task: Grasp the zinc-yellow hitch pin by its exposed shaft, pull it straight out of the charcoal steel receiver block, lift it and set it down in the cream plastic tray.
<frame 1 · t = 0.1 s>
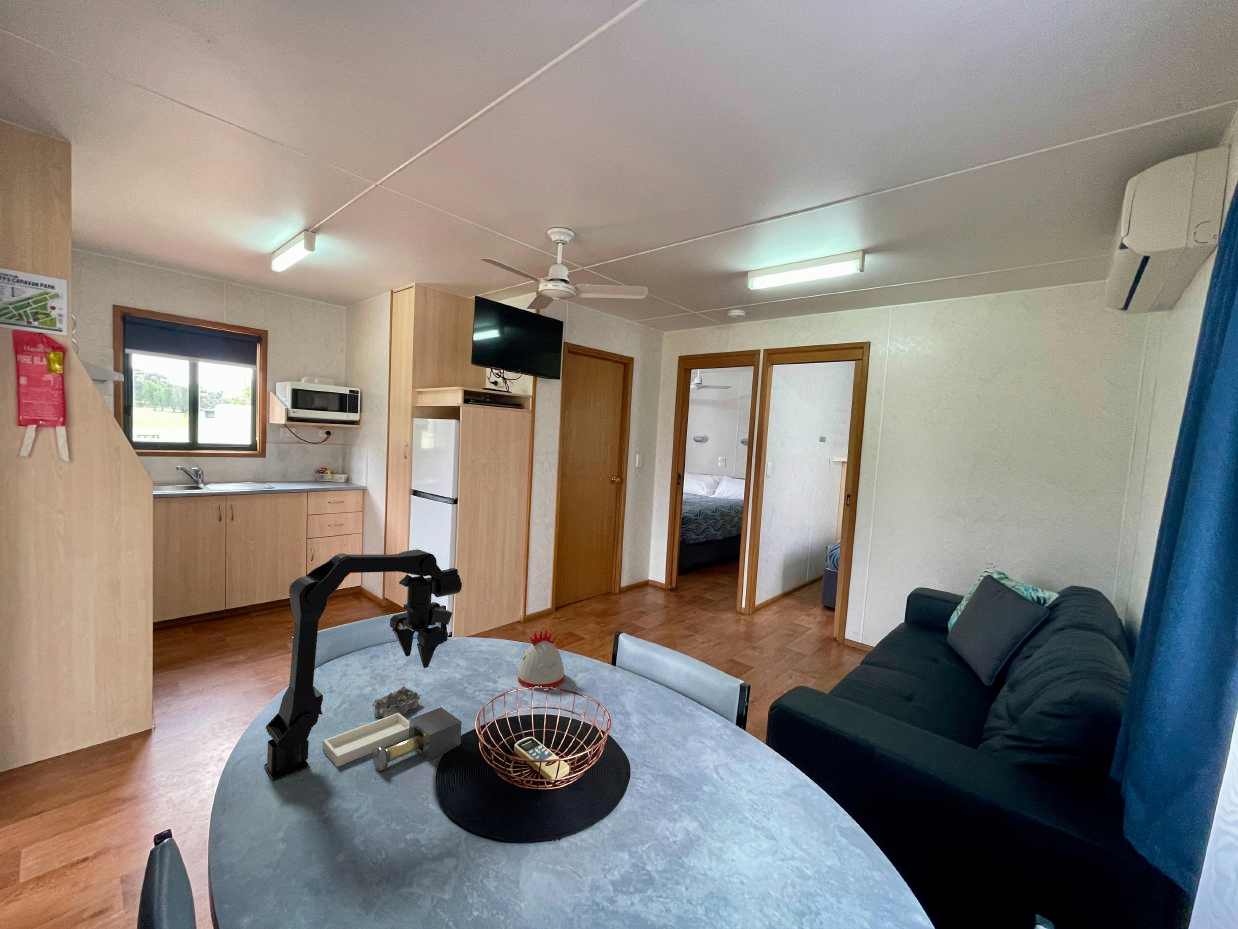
hand: (416, 661, 128), 15 cm above the table, fingers open, 9 cm apart
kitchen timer: (541, 679, 154), on the table
tray: (369, 742, 117), on the table
receiver block: (434, 744, 117), on the table
egg carton: (396, 711, 132), on the table
pin: (382, 767, 108), on the table, touching receiver block
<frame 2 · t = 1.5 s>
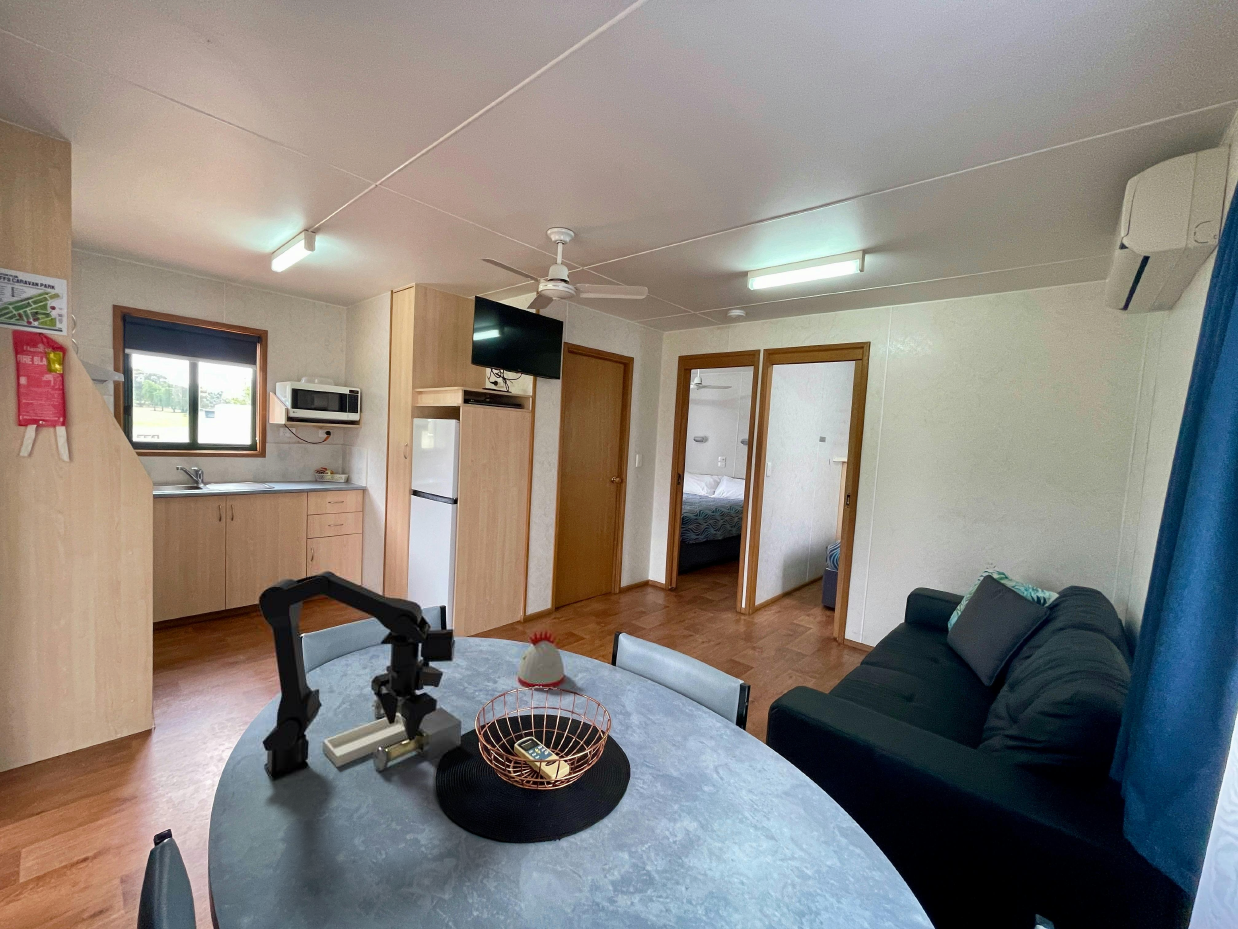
hand: (401, 731, 111), 6 cm above the table, fingers open, 9 cm apart
nothing on the table moved.
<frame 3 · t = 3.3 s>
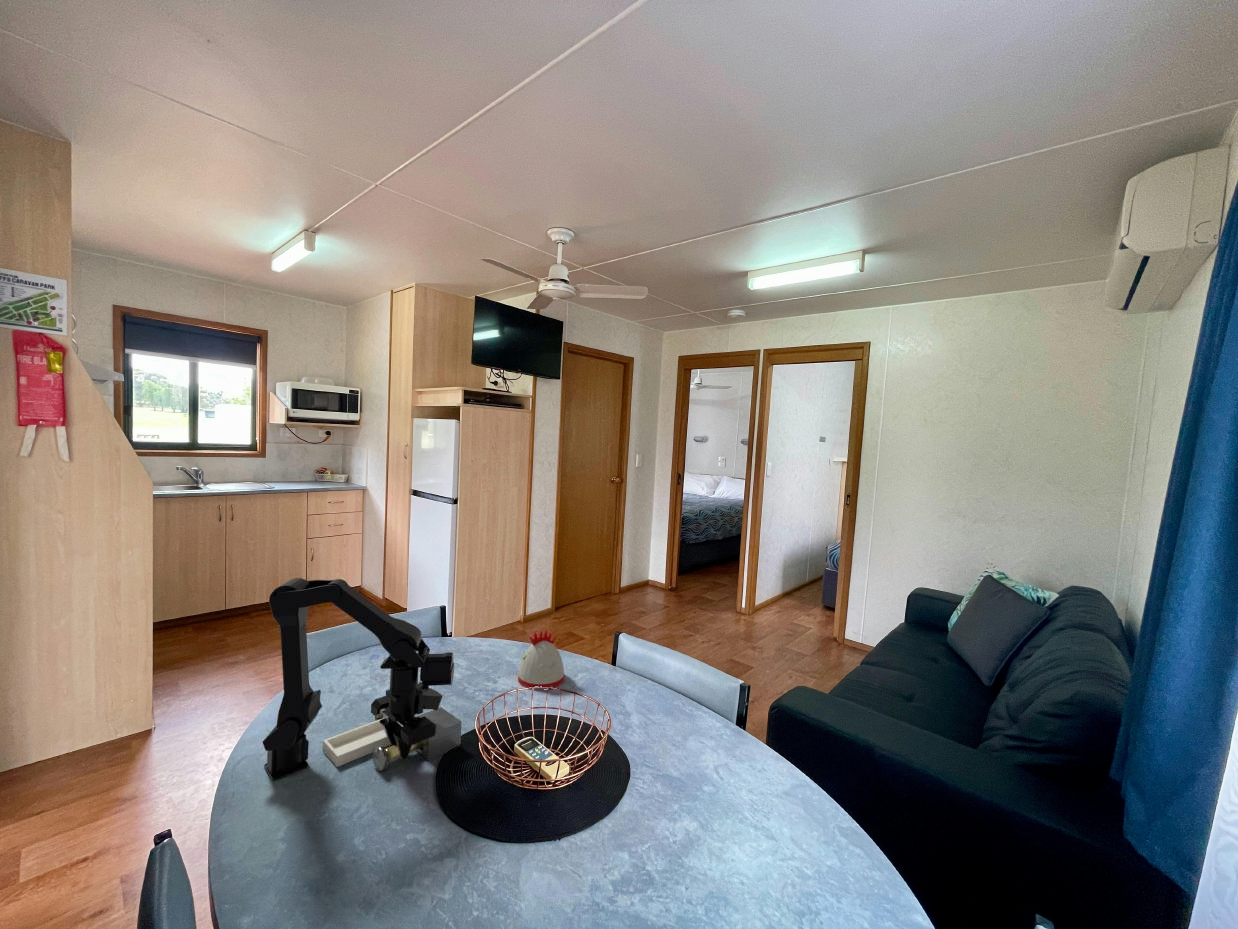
hand: (401, 755, 111), 1 cm above the table, fingers closed on pin, 3 cm apart
pin: (382, 767, 108), on the table, touching gripper, receiver block
everything else where it was.
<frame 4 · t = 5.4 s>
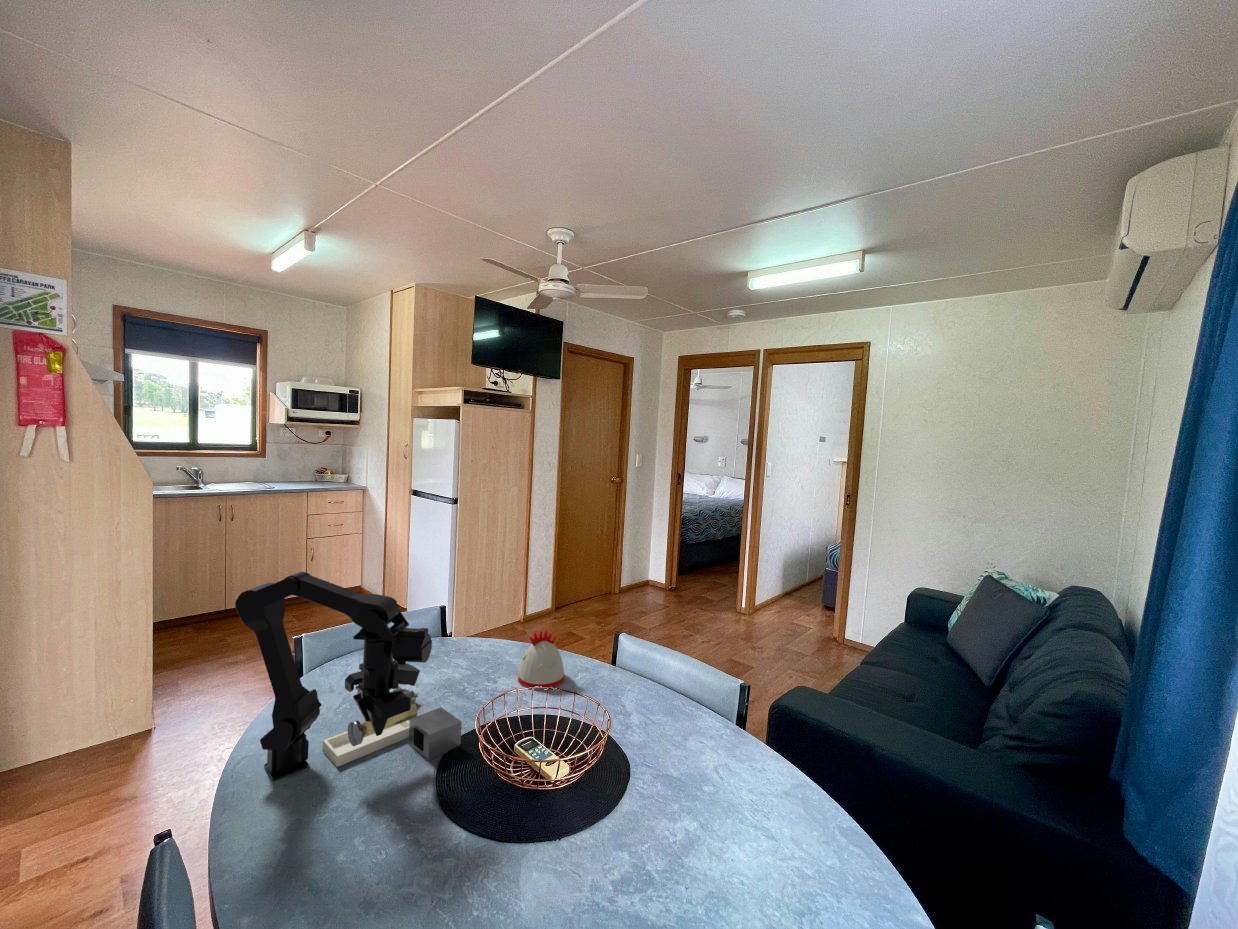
hand: (375, 732, 107), 9 cm above the table, fingers closed on pin, 3 cm apart
pin: (358, 743, 104), point 8 cm above the table, touching gripper
everything else where it was.
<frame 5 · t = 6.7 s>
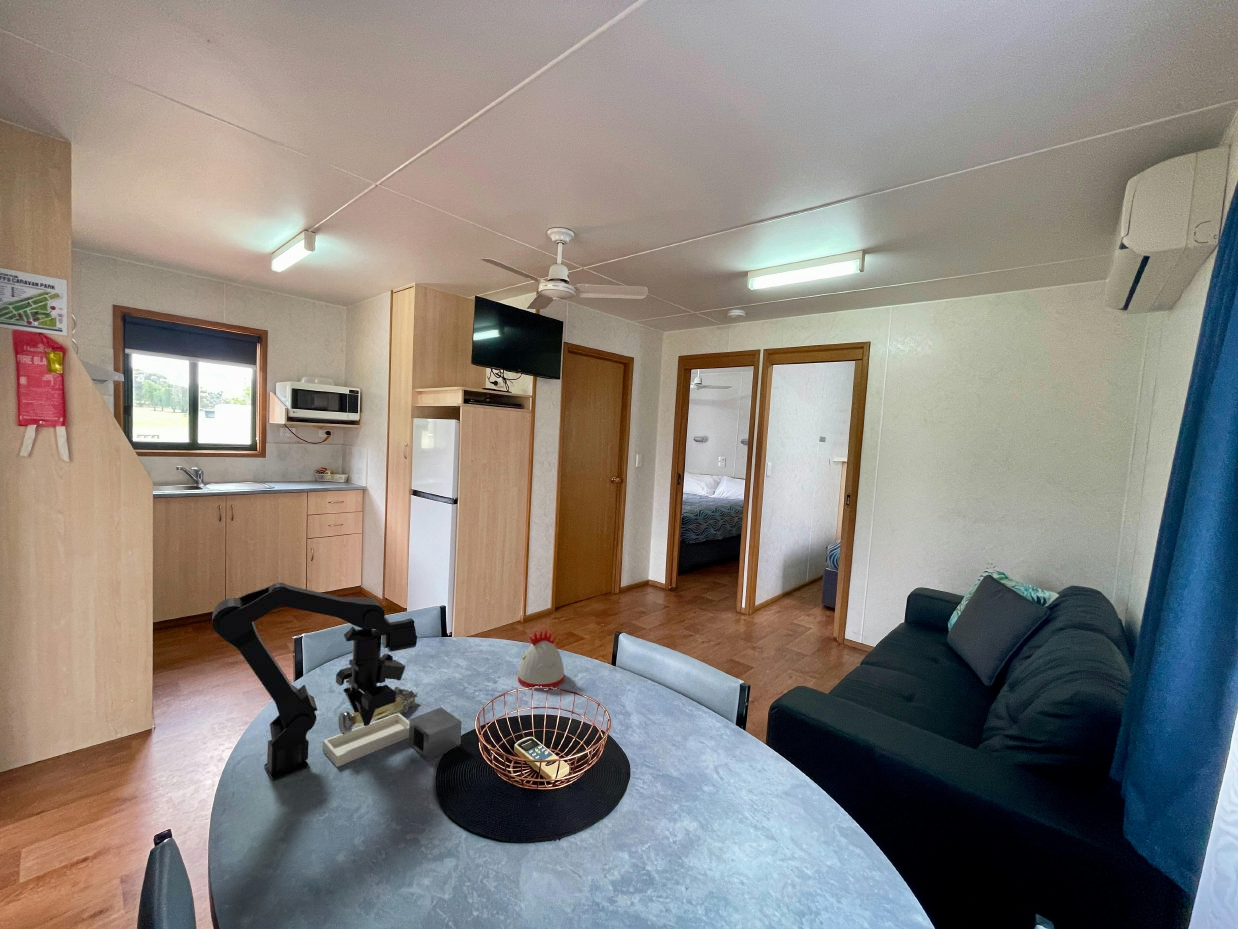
hand: (363, 722, 116), 5 cm above the table, fingers closed on pin, 3 cm apart
pin: (347, 732, 113), point 4 cm above the table, touching gripper
everything else where it was.
when the fingers open (3 cm above the table, at t = 7.5 s): pin drops 2 cm, resting on tray.
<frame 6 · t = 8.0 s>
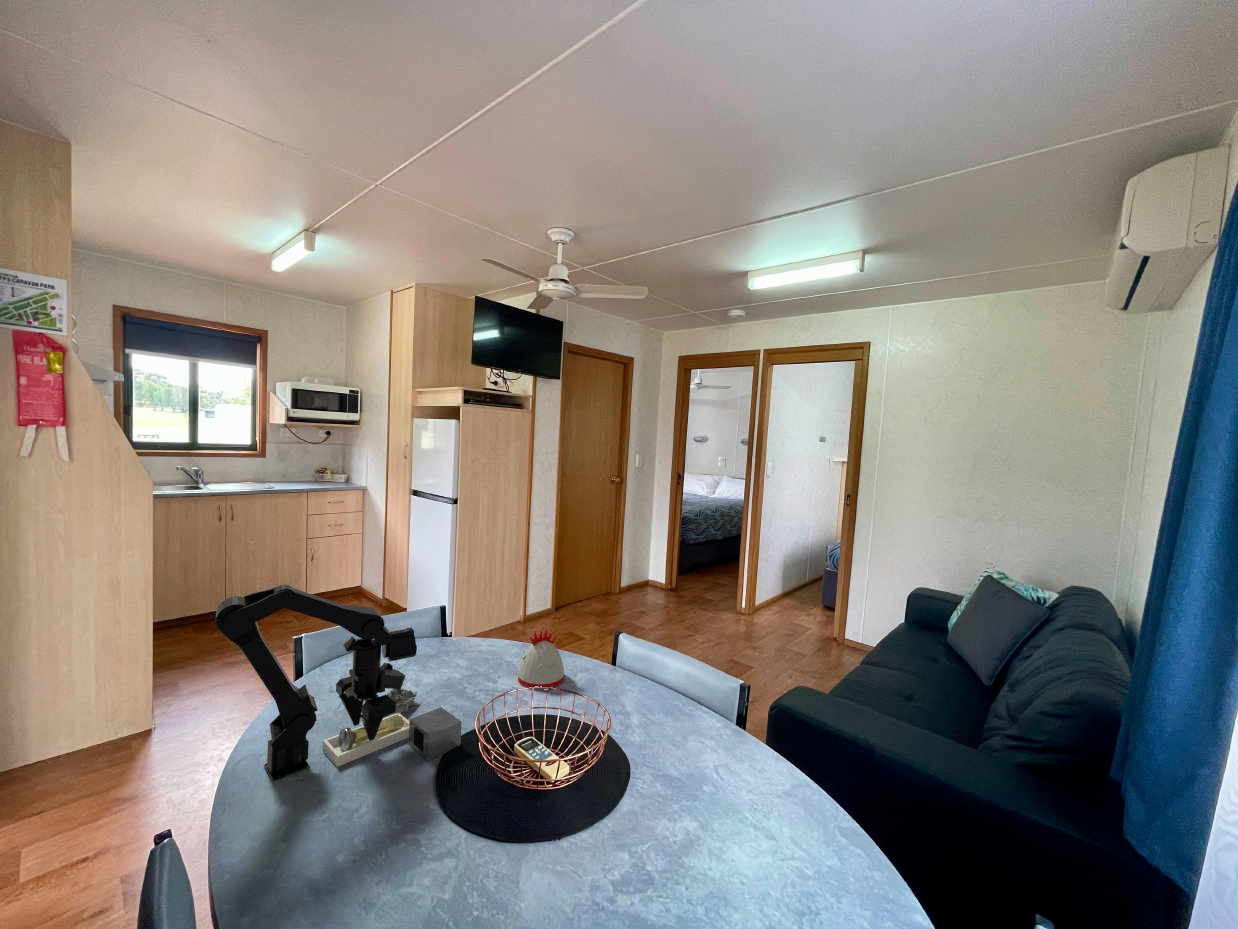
hand: (364, 732, 116), 3 cm above the table, fingers open, 8 cm apart
pin: (347, 749, 113), point 1 cm above the table, touching tray
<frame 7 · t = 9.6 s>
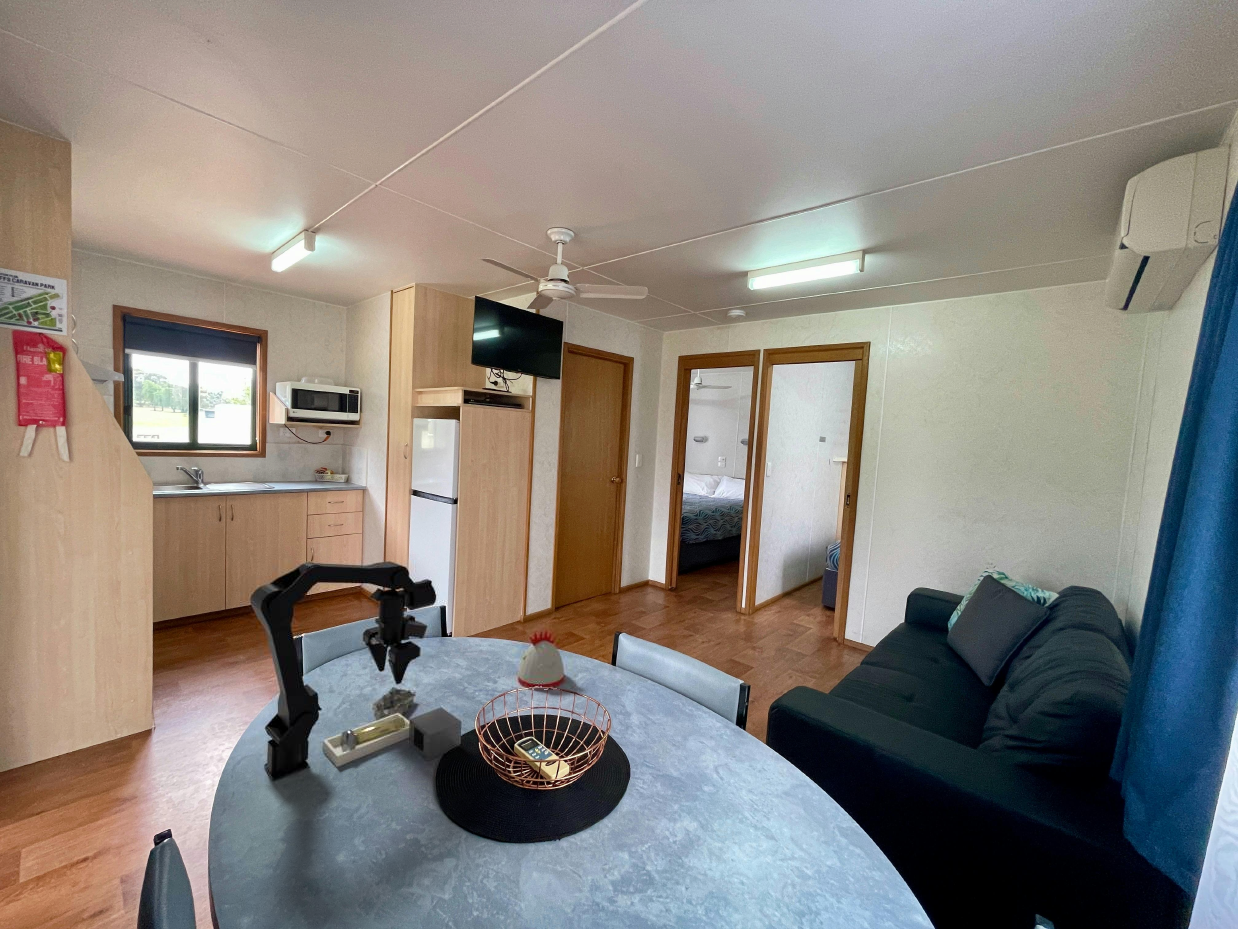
hand: (389, 677, 123), 12 cm above the table, fingers open, 9 cm apart
pin: (347, 747, 113), point 1 cm above the table, tilted 30°, touching tray
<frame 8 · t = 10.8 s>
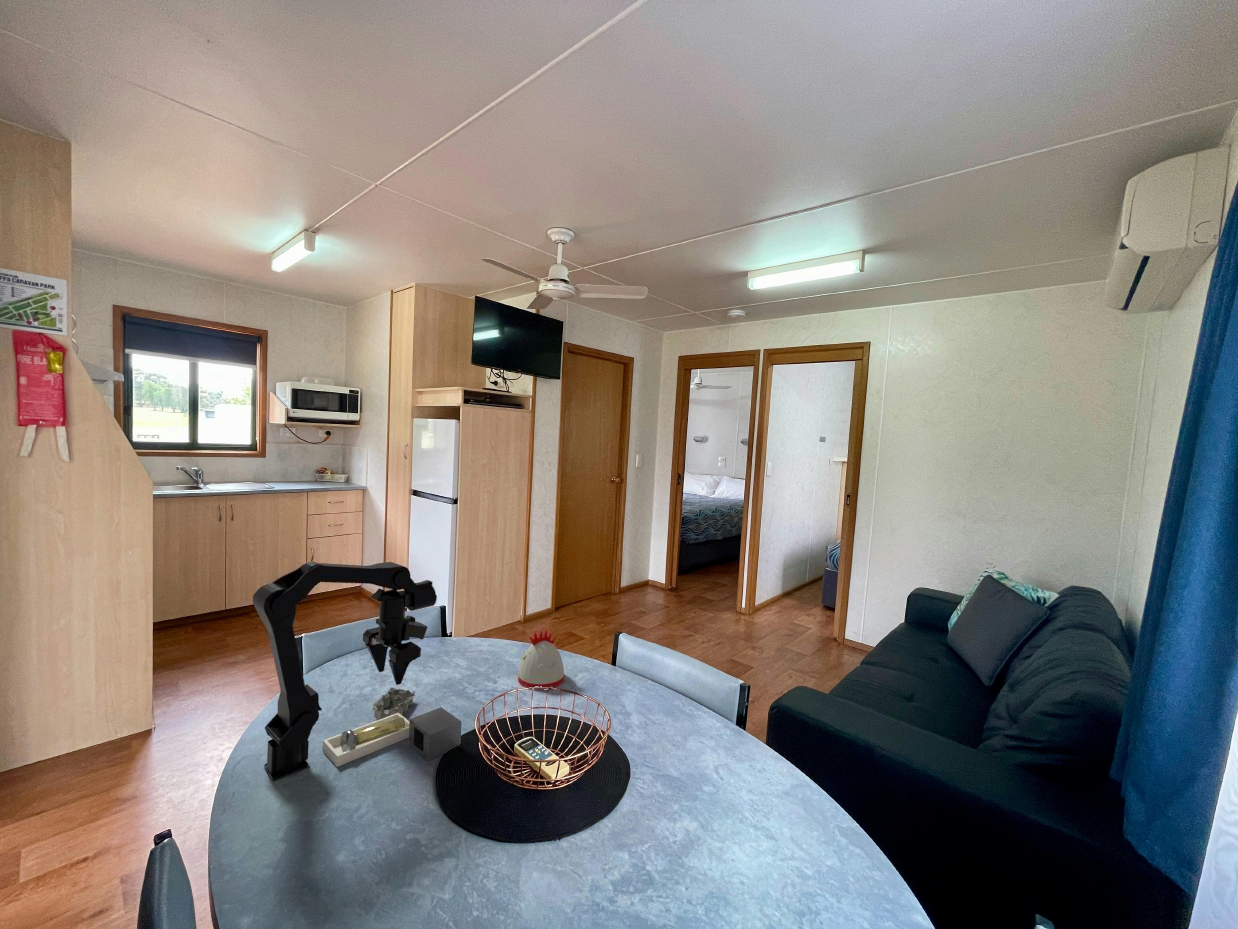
hand: (389, 677, 124), 12 cm above the table, fingers open, 9 cm apart
at the end: pin inside the target area on the tray (0.8 cm from its centre), point 0.9 cm above the tray's base; pin inside the target area (7.0 cm from its centre), point 0.9 cm above the table; the gripper is holding nothing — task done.
